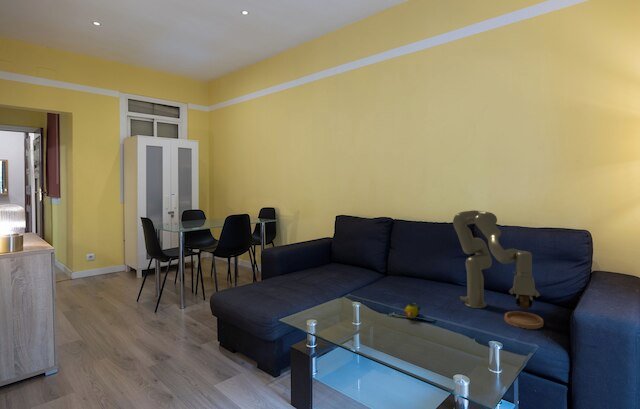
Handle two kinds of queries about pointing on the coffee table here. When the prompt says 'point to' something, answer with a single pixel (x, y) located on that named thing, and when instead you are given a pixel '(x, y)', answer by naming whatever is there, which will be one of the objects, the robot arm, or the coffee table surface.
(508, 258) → the robot arm
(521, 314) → the round tray
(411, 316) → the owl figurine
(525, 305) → the walnut bead
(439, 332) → the coffee table surface
